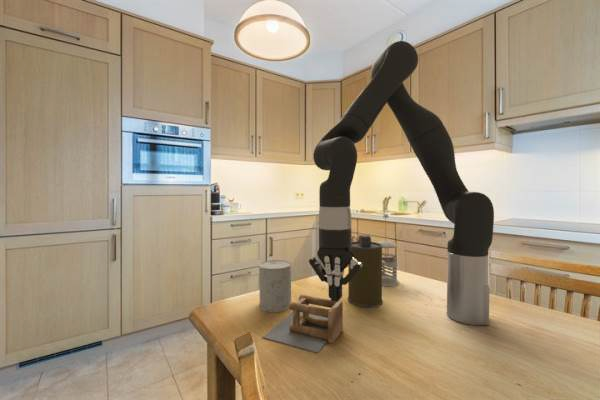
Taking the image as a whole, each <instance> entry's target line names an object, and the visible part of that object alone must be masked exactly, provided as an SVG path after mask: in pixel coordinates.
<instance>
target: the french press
mask: <svg viewBox="0 0 600 400" xmlns="http://www.w3.org/2000/svg"><path fill="white" fill-rule="evenodd" d="M382 216H383V217H382V218H385V220H384V221H385V222H384V223H385V226H384V227H385V230H384V231H385V232H384V233H385V236H384V237H385V239H384V240H380V241H377V242H376V243H380V244H382V246H383V247H382V249H385V253H382V287H396V286H399V285H400V284H399V283H400V281H399V280H398V277H397V276H398V275H397V274H398V271H397V270H398V269H397V268H398V265H397V264H398V259H396V257H397V256H396V255H395V254H393V253H391V254H390V253H387V249H394V248H398V244H396V243H395V242H393V241H391V240H388V239H387V219H388V218H389V215H388V214H387V213H385V214H383V215H382Z"/></svg>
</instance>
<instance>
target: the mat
mask: <svg viewBox="0 0 600 400" xmlns="http://www.w3.org/2000/svg"><path fill="white" fill-rule="evenodd" d="M301 314H302V315H303V312H300V315H301ZM309 316H311V317H316V318H320V319H325V320H328V318H326V317H322V316H317V315H312V314H309ZM291 323H293V311H291V313H289V314H288V315H287V316H285V318H284V319H282V320H281V321H280V322H279V323H277V324H276V325H275V326H274V327H273V328H271V329H270V330H269V331H267V333H265V334H264V335H263V336H262V339H266V340H269V341H272V342H277V343H280V344H283V345H287V346H291V347H294V348H298V349H301V350H306V351H309V352H313V353H316V354H319V353H320V351H321V350H322V349H323V347H324V346H325V345H326V344H327V342H328V340H324V339H320V338H316V337H312V336H308V335H304V334H300V333H296V332H292V331H290V330H289V326H290V324H291ZM304 326H307V327H311V328H315V329H319V330H323V331H328V328H325V327H320V326H316V325H312V324H307V323H306V324H305V325H304Z"/></svg>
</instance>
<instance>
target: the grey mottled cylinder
mask: <svg viewBox="0 0 600 400" xmlns="http://www.w3.org/2000/svg"><path fill="white" fill-rule="evenodd" d="M258 272H259V273H258V276H259V277H258V279H259V286H258V287H259V309H260V310H262V311H264V312H267V313H268V312H269V313H279V312H285V311H287V310H290V309H289V304H290V302H292V263H291V262H289V261H288V260H287V261H286V260H279V259H278V260H277V259H275V260H273V259H272V260H265V261H262V262H259V264H258Z"/></svg>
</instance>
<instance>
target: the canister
mask: <svg viewBox="0 0 600 400" xmlns="http://www.w3.org/2000/svg"><path fill="white" fill-rule="evenodd" d="M382 247H383V246H382V244H380V243H377V242H376V241H372V238H371V236H370V235H369V234H359V235H358V240H357V241H352V247H351V249H352V252H353V254H354V258H355V259H356V260H357V261H358V262H362V263H363V266H362V267H361V268H360V269H359V271H358V272H357V273H356V274H355V275H354V276H353V278H352V279H351V280H350V281H349V282H348V283H347V285H348V287H347V288H348V295H347V301H348V303H350V304H351V305H354V306H357V307H361V308H375V307H379V306H380V305H382V304H383V302H384V301H383V297H382V295H383V290H382V289H383V286H382V271H383V270H382V262H383V260H382V254H383V248H382ZM350 265H351V262H350V263H349V264H348V266H347V267H348V271H347V274H348V273H349V272H350V271H351V270H352V269H351V268H350Z"/></svg>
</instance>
